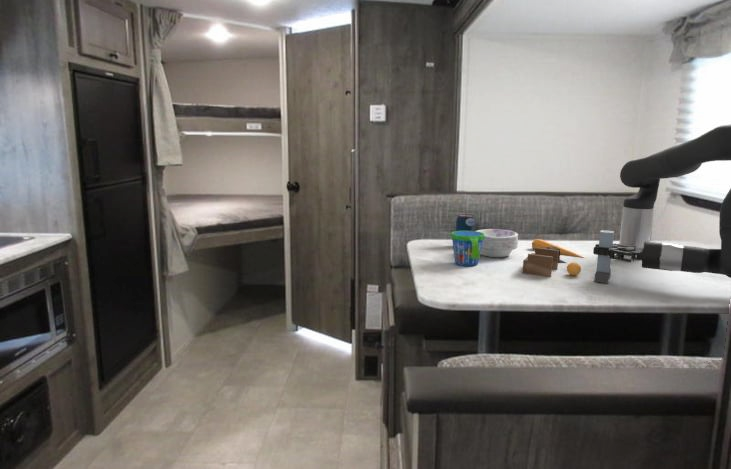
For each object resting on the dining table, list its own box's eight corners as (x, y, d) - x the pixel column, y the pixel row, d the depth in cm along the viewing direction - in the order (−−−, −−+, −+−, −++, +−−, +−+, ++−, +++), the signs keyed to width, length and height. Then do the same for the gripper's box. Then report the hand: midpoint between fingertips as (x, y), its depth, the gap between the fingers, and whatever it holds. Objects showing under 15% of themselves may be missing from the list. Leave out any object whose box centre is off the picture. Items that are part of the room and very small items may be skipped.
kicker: (597, 274, 154) (602, 228, 151) (610, 275, 152) (615, 229, 149) (594, 281, 146) (598, 233, 143) (607, 283, 144) (612, 234, 142)
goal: (530, 265, 164) (532, 246, 163) (557, 268, 160) (559, 250, 159) (522, 273, 155) (523, 253, 154) (550, 277, 151) (552, 257, 150)
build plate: (571, 265, 167) (572, 251, 166) (550, 265, 166) (551, 252, 165) (553, 256, 179) (554, 243, 178) (533, 257, 178) (534, 244, 177)
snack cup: (445, 258, 173) (446, 228, 171) (476, 258, 173) (478, 228, 171) (455, 270, 157) (456, 237, 155) (488, 270, 158) (490, 238, 156)
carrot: (530, 251, 188) (529, 241, 186) (536, 245, 191) (536, 235, 188) (583, 267, 175) (583, 256, 172) (589, 260, 177) (589, 249, 175)
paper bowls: (464, 254, 178) (465, 232, 176) (484, 247, 189) (485, 226, 188) (505, 262, 168) (506, 238, 167) (524, 254, 179) (525, 232, 178)
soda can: (475, 249, 187) (477, 216, 184) (456, 248, 187) (458, 216, 184) (472, 245, 193) (473, 213, 191) (453, 244, 193) (455, 213, 191)
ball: (567, 272, 156) (568, 260, 155) (581, 274, 154) (582, 261, 153) (565, 275, 152) (566, 262, 151) (579, 277, 150) (580, 264, 149)
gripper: (663, 238, 146) (598, 232, 154) (663, 247, 134) (592, 240, 142) (660, 263, 147) (595, 256, 156) (660, 275, 135) (590, 266, 144)
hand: (594, 249), depth 149 cm, fingers closed on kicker, 3 cm apart
